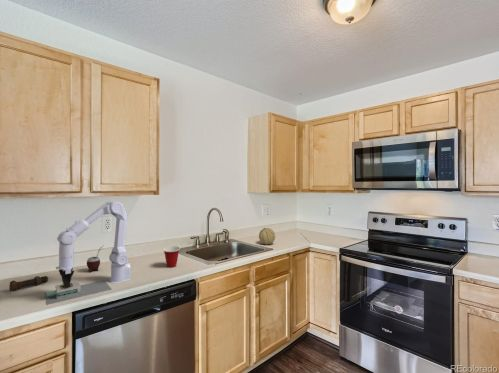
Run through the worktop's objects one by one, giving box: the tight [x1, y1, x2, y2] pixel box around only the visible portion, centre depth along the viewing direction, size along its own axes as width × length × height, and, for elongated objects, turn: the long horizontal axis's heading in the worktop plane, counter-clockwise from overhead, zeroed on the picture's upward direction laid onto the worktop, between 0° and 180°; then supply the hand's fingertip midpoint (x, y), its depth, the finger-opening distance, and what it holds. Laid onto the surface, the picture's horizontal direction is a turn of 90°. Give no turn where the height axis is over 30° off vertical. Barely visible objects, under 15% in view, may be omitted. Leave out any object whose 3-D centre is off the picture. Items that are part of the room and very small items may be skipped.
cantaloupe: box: [258, 227, 276, 245], centre depth 232 cm, size 15×15×15 cm
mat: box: [44, 280, 112, 306], centre depth 128 cm, size 26×16×1 cm, turn 131°
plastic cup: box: [162, 245, 181, 268], centre depth 168 cm, size 11×11×12 cm
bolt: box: [8, 275, 49, 292], centre depth 134 cm, size 6×5×15 cm
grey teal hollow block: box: [45, 280, 81, 299], centre depth 123 cm, size 13×8×4 cm, turn 131°
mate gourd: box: [86, 244, 105, 273], centre depth 159 cm, size 8×8×15 cm
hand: (66, 284), depth 124 cm, fingers closed on pin, 3 cm apart
